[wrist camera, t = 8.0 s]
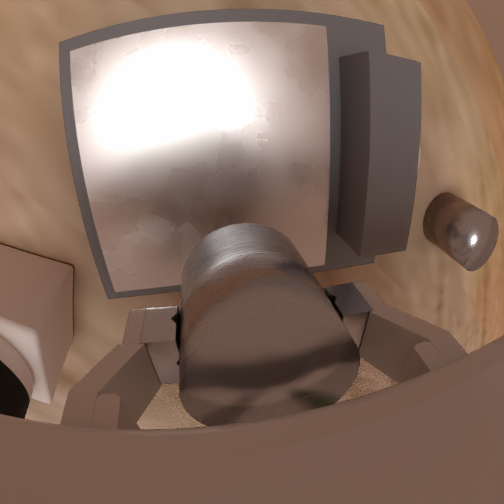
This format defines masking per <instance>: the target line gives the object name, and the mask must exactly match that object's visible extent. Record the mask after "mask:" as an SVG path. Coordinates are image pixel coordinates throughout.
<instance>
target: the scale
mask: <svg viewBox="0 0 504 504" xmlns="http://www.w3.org/2000/svg"><path fill="white" fill-rule="evenodd" d="M221 22H284V23H299V24H310V25H320V26H326V31H327V46H328V64H329V89H330V178H329V205H328V224H327V241H326V255H325V265H320V266H313V267H309V269H310V270H311V272H312V273H314V272H320V271H326V270H333V269H339V268H345V267H351V266H357V265H363V264H369V263H374V257H375V255H380V254H386V253H392V252H398V251H404V250H406V246H407V241H408V235H409V229H410V224H411V217H412V211H413V204H414V197H415V189H416V180H417V173H418V170H419V165H420V155H421V153H420V130H421V63H420V62H417V61H413V60H409V59H405V58H401V57H397V56H392V55H388V54H386V46H385V33H384V25H380V24H376V23H371V22H367V21H362V20H357V19H352V18H347V17H341V16H335V15H328V14H321V13H312V12H303V11H291V10H275V9H222V10H206V11H194V12H185V13H177V14H169V15H163V16H157V17H151V18H145V19H140V20H135V21H131V22H126V23H122V24H118V25H114V26H110V27H106V28H102V29H99V30H95V31H92V32H88V33H85V34H82V35H79V36H76V37H73V38H70V39H67V40H64V41H62V42H59V65H60V84H61V97H62V107H63V117H64V125H65V132H66V139H67V146H68V152H69V158H70V163H71V169H72V174H73V179H74V183H75V188H76V193H77V197H78V201H79V206H80V210H81V214H82V218H83V221H84V225H85V229H86V233H87V236H88V240H89V243H90V246H91V250H92V253H93V256H94V260H95V263H96V266H97V269H98V272H99V275H100V278H101V281H102V284H103V286H104V289H105V292H106V295H107V298H108V299H113V298H123V297H132V296H141V295H150V294H159V293H167V292H176V291H181V285H182V284H181V285H173V286H165V287H156V288H148V289H139V290H131V291H122V292H115V290H114V287H113V284H112V281H111V278H110V275H109V272H108V269H107V266H106V262H105V259H104V256H103V252H102V249H101V245H100V242H99V238H98V235H97V231H96V227H95V223H94V219H93V215H92V211H91V207H90V203H89V198H88V194H87V189H86V184H85V179H84V174H83V169H82V164H81V158H80V152H79V146H78V139H77V132H76V125H75V117H74V107H73V97H72V85H71V68H70V51H72V50H75V49H78V48H82V47H85V46H88V45H91V44H95V43H98V42H102V41H106V40H110V39H114V38H118V37H122V36H126V35H131V34H136V33H141V32H146V31H151V30H157V29H163V28H170V27H177V26H185V25H195V24H206V23H221Z"/></svg>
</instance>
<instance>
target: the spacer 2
mask: <svg viewBox="0 0 504 504" xmlns="http://www.w3.org/2000/svg"><path fill="white" fill-rule="evenodd" d="M423 231H424V234H425V236H426V238H427V239H428V240H429V241H431V242H432V243H433V244H435V245H436V246H437V247H439V248H440V249H441V250H443V251H444V252H445V253H446V254H448V255H449V256H450V257H451V258H453V259H454V260H455V261H456V262H458V263H459V264H460V265H461V266H463V267H464V268H465V269H466V270H468V271H475V270H477V269H479V268H480V267H481V266H482V265H484V264H485V262H486V261H487V260H488V259H489V257H490V256H491V254H492V252H493V250H494V248H495V245H496V242H497V238H498V223H497V220H496V219H495V218H494V217H493V216H491V215H489V214H488V213H486V212H484V211H482V210H481V209H479V208H477V207H475V206H474V205H472V204H470V203H468V202H466V201H464V200H463V199H461V198H459V197H457V196H455V195H453V194H451V193H448V192H445V193H441V194H439V195H438V196H436V197H435V198H434V199H433V200H432V201H431V203H430V204H429V206H428V208H427V210H426V212H425V215H424V219H423Z"/></svg>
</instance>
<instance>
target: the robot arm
mask: <svg viewBox="0 0 504 504" xmlns="http://www.w3.org/2000/svg"><path fill="white" fill-rule="evenodd" d="M322 289H323V291H324V292H325V294H326V296H327V297H328V299H329V300H330V302H331V304H332V305H333V307H334V308H335V310H336V312H337V313H338V315H339V317H340V318H341V320H342V321H343V323H344V325H345V326H346V328H347V330H348V331H349V333H350V335H351V336H352V338H353V340H354V341H355V343H356V345H357V347H358V350H359V353H360V357H361V358H363V359H364V360H366V361H367V362H369V363H370V364H372V365H373V366H374V367H376V368H377V369H379V370H380V371H382V372H383V373H385V374H386V375H388V376H389V377H391V378H392V379H394V380H395V381H397V382H398V383H397V385H394V386H391V387H388V388H385V389H382V390H379V391H376V392H373V393H370V394H367V395H364V396H361V397H357V398H354V399H351V400H347V401H344V402H340V403H336V404H333V405H329V406H325V407H321V408H317V409H312V410H308V411H304V412H299V413H294V414H289V415H284V416H279V417H274V418H268V419H262V420H256V421H249V422H242V423H234V424H226V425H217V426H207V427H195V428H179V429H140V428H139V426H138V424H137V423H136V422H137V421H138V420H139V418H140V417H141V415H142V414H143V412H144V411H145V409H146V408H147V406H148V405H149V403H150V402H151V400H152V399H153V397H154V396H155V394H156V393H157V391H158V390H159V388H160V387H161V384H172V383H179V344H180V310H179V307H178V306H166V307H152V308H139V309H132V310H131V311H130V312H129V316H128V321H127V325H126V329H125V333H124V338H123V342H122V345H117V346H116V347H115V348H114V349H113V350H112V351H111V352H110V353H109V354H107V355H106V356H105V357H104V358H103V359H102V360H101V361H100V362H99V363H98V364H97V365H96V366H95V367H94V368H93V369H92V370H90V371H89V372H88V373H87V374H86V375H85V376H84V377H83V378H82V379H81V380H80V381H79V382H78V383H77V384H76V385H75V386H74V387H73V388H72V389H71V390H69V392H68V396H67V400H66V404H65V407H64V411H63V415H62V420H61V424H60V425H59V424H52V423H45V422H38V421H33V420H27V419H22V418H16V417H12V416H7V415H3V414H0V504H504V335H503V336H501V337H499V338H498V339H496V340H494V341H492V342H490V343H489V344H487V345H485V346H483V347H481V348H479V349H477V350H475V351H473V352H471V353H469V354H467V352H466V351H465V350H464V349H463V348H462V346H461V345H460V344H459V343H458V342H457V340H456V339H455V338H454V337H453V336H452V335H451V333H450V332H449V331H446V330H444V329H442V328H439V327H437V326H435V325H433V324H430V323H428V322H426V321H423V320H421V319H419V318H416V317H414V316H412V315H409V314H407V313H405V312H403V311H400V310H398V309H396V308H393V307H387V306H386V305H385V304H384V302H383V301H382V300H381V299H380V298H379V296H378V295H377V294H376V293H375V291H374V290H373V289H372V288H371V287H370V286H369V284H368V283H367V282H366V281H364V280H361V281H356V282H351V283H348V284H342V285H336V286H330V287H323V288H322Z"/></svg>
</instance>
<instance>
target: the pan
mask: <svg viewBox="0 0 504 504" xmlns="http://www.w3.org/2000/svg"><path fill="white" fill-rule="evenodd" d="M70 68H71V85H72V97H73V107H74V117H75V125H76V132H77V139H78V146H79V152H80V158H81V164H82V169H83V174H84V179H85V184H86V189H87V194H88V198H89V203H90V207H91V211H92V215H93V219H94V223H95V227H96V231H97V235H98V238H99V242H100V245H101V249H102V252H103V256H104V259H105V262H106V266H107V269H108V272H109V275H110V278H111V281H112V284H113V287H114V290H115V292H122V291H131V290H139V289H148V288H156V287H165V286H173V285H181V284H182V271H183V267H184V264H185V261H186V259H187V257H188V255H189V253H190V252H191V250H192V249H193V248H194V247H195V245H196V244H197V243H198V242H199V241H200V240H202V239H203V238H204V237H206V236H207V235H208V234H210V233H212V232H214V231H215V230H218V229H220V228H223V227H226V226H229V225H233V224H240V223H254V224H261V225H265V226H268V227H271V228H274V229H276V230H277V231H279V232H281V233H282V234H284V235H285V236H286V237H287V238H288V239H289V240H290V241H291V242H292V243H293V244H294V246H295V247H296V248H297V250H298V252H299V253H300V255H301V256H302V258H303V259H304V261H305V262H306V264H307V266H308V267H313V266H320V265H325V255H326V241H327V224H328V205H329V178H330V89H329V64H328V46H327V31H326V26H320V25H310V24H299V23H284V22H221V23H206V24H195V25H185V26H177V27H170V28H163V29H157V30H151V31H146V32H141V33H136V34H131V35H126V36H122V37H118V38H114V39H110V40H106V41H102V42H98V43H95V44H91V45H88V46H85V47H82V48H78V49H75V50H72V51H70Z"/></svg>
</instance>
